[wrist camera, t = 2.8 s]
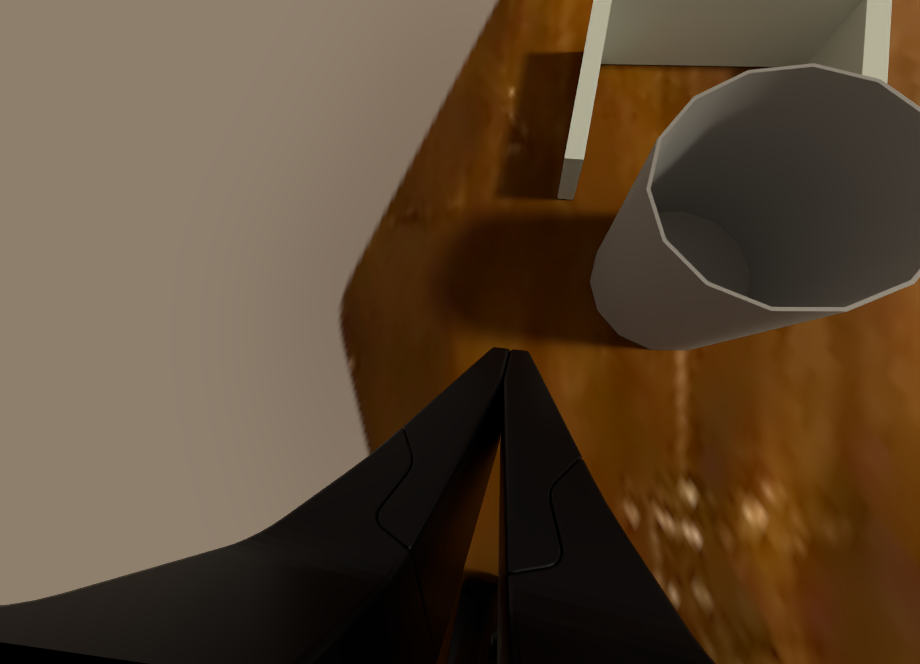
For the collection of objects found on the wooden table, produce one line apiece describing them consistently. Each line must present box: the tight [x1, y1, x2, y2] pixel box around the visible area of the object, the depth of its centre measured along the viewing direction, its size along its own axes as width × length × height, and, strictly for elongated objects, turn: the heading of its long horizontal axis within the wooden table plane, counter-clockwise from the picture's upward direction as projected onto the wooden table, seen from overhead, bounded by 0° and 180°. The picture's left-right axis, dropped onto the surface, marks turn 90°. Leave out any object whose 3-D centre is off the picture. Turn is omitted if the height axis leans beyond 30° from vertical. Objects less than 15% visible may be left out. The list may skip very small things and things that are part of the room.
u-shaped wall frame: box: [557, 0, 892, 200], centre depth 20 cm, size 11×14×4 cm
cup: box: [590, 63, 920, 350], centre depth 16 cm, size 8×8×10 cm
